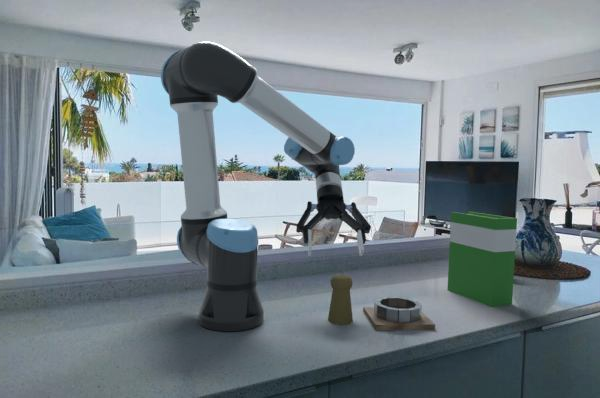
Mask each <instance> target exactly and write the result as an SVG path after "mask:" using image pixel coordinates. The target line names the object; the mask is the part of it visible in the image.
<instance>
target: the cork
mask: <svg viewBox="0 0 600 398" xmlns="http://www.w3.org/2000/svg"><path fill="white" fill-rule="evenodd" d="M330 286H331V288H332V291H331V298H330V304H329V311H328V315H327V322H329V323H330V324H334V325H342V326H343V325H346V326H347V325H350V324H352V323H354V322H353V321H354V320H353V319H354V318H353V311H352V309H353V308H352V307H353V306H352V297H351V289H352V288H353V280H352V277H351V276H349V275H347V274H335V275H333V276H332V277H331V279H330Z"/></svg>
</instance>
